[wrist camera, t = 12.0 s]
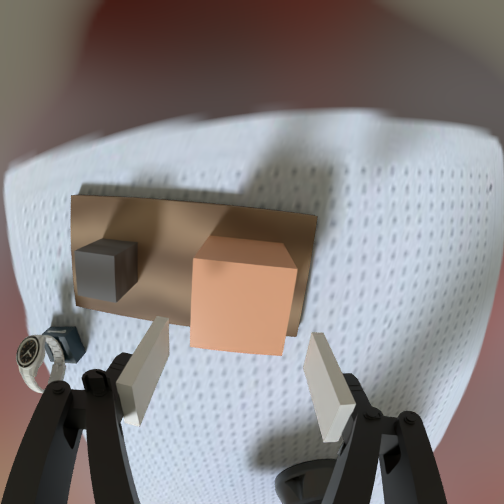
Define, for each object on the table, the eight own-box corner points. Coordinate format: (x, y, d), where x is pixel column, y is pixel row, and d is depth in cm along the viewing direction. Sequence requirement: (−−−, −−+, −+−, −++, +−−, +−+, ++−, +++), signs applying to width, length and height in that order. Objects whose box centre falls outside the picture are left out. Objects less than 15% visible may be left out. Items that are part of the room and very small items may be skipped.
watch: (71, 314, 33) (26, 353, 22) (90, 362, 35) (56, 407, 24) (45, 315, 33) (2, 350, 22) (64, 360, 35) (29, 400, 24)
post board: (294, 330, 33) (305, 366, 26) (81, 301, 32) (51, 326, 25) (314, 215, 30) (334, 225, 23) (77, 194, 29) (40, 199, 22)
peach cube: (273, 310, 31) (281, 355, 22) (204, 303, 31) (190, 346, 22) (283, 243, 29) (297, 269, 21) (209, 235, 29) (193, 257, 20)
